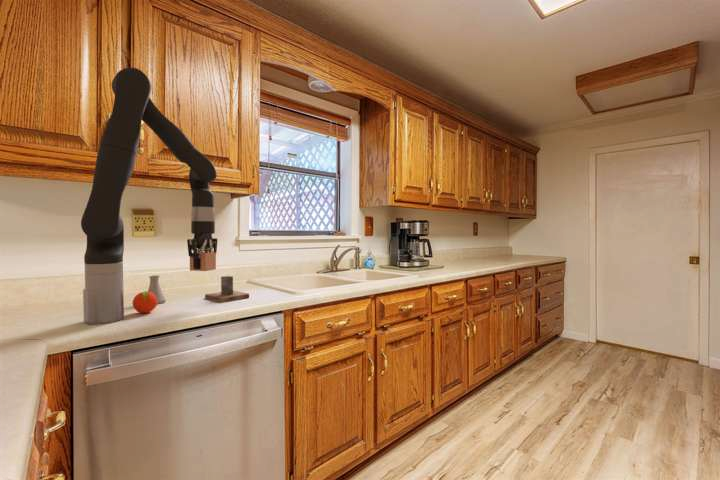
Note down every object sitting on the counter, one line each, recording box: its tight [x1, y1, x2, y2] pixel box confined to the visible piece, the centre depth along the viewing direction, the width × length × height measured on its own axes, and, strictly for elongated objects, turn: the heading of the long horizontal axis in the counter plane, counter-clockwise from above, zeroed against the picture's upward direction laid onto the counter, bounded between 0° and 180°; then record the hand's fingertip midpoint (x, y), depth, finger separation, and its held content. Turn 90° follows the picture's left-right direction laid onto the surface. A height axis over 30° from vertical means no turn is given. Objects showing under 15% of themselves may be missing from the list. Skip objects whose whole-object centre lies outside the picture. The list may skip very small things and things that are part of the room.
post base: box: [204, 275, 250, 303], centre depth 138 cm, size 12×12×8 cm
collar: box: [189, 251, 217, 272], centre depth 123 cm, size 6×6×6 cm
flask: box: [147, 274, 167, 305], centre depth 129 cm, size 7×7×10 cm
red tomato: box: [132, 291, 158, 314], centre depth 113 cm, size 8×7×7 cm
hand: (203, 267), depth 123 cm, fingers closed on collar, 6 cm apart
